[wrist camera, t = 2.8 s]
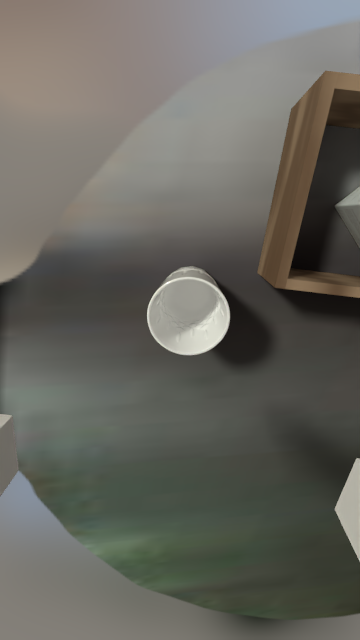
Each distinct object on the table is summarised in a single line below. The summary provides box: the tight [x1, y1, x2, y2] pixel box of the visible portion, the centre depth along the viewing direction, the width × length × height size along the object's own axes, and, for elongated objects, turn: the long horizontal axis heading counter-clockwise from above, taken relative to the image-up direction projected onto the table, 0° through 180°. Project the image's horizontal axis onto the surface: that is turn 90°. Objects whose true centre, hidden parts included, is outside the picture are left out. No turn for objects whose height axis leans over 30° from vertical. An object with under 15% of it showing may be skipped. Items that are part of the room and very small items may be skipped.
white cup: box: [147, 266, 230, 355], centre depth 31 cm, size 8×8×10 cm
